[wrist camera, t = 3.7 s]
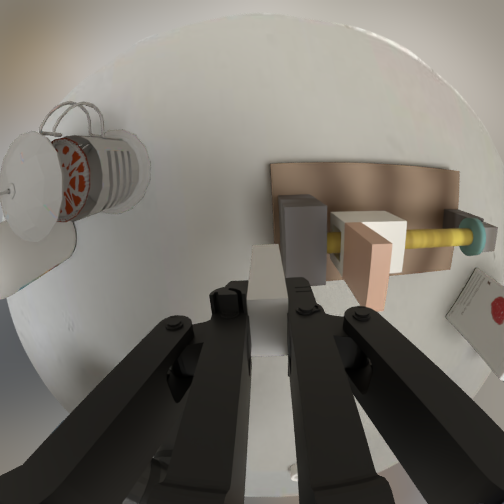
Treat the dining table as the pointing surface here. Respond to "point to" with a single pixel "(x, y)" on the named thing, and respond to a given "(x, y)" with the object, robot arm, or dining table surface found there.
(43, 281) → the dining table surface
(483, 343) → the supplement box
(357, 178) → the axle on two posts
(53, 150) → the french press
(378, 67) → the dining table surface
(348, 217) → the cube with tan panel
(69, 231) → the milk bottle
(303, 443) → the robot arm
